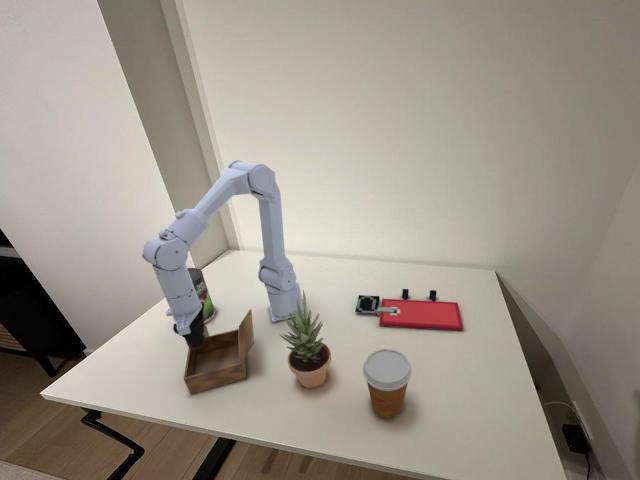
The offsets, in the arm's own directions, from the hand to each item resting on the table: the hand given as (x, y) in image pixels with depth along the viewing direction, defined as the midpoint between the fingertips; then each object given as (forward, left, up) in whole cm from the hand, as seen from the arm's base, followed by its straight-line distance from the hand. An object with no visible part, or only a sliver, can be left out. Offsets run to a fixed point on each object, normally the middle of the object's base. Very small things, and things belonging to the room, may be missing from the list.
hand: (198, 338), depth 75 cm
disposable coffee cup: (-37, +27, -9) cm, 46 cm away
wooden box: (-3, +2, -9) cm, 9 cm away
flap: (-10, +2, 0) cm, 10 cm away
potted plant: (-24, +14, -9) cm, 29 cm away
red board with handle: (-55, 0, -9) cm, 55 cm away
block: (0, 0, -1) cm, 1 cm away
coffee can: (+4, -22, -9) cm, 24 cm away
